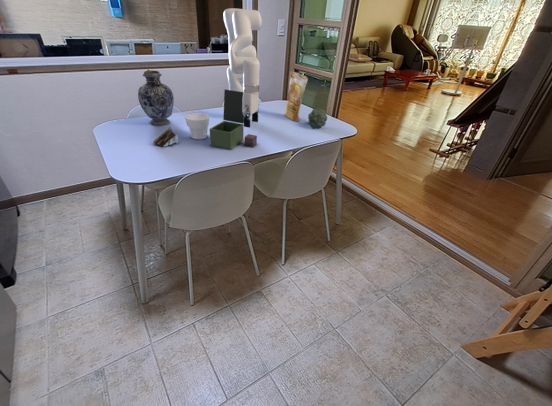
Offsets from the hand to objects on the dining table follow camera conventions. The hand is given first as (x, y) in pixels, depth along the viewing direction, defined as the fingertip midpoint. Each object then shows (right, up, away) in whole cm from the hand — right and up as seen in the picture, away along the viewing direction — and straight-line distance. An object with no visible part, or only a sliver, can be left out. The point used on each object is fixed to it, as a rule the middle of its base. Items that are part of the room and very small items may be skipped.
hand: (251, 124), depth 145 cm
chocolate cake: (-42, -10, +1) cm, 43 cm away
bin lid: (-9, +10, +4) cm, 14 cm away
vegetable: (+37, +9, +38) cm, 54 cm away
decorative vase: (-57, +8, +26) cm, 63 cm away
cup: (-30, -4, +12) cm, 32 cm away
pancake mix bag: (+23, +18, +50) cm, 58 cm away
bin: (-13, -8, +7) cm, 17 cm away
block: (-1, -9, +6) cm, 11 cm away
